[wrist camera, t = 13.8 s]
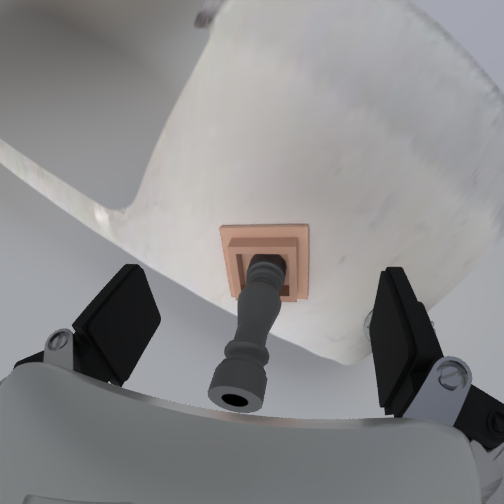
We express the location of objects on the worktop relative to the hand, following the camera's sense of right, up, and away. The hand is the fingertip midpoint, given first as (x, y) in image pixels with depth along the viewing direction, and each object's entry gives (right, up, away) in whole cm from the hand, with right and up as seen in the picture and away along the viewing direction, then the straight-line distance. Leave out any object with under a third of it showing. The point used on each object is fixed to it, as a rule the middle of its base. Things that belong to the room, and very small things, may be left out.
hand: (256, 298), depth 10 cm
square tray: (+2, 0, +36) cm, 36 cm away
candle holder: (+3, -1, +36) cm, 36 cm away
